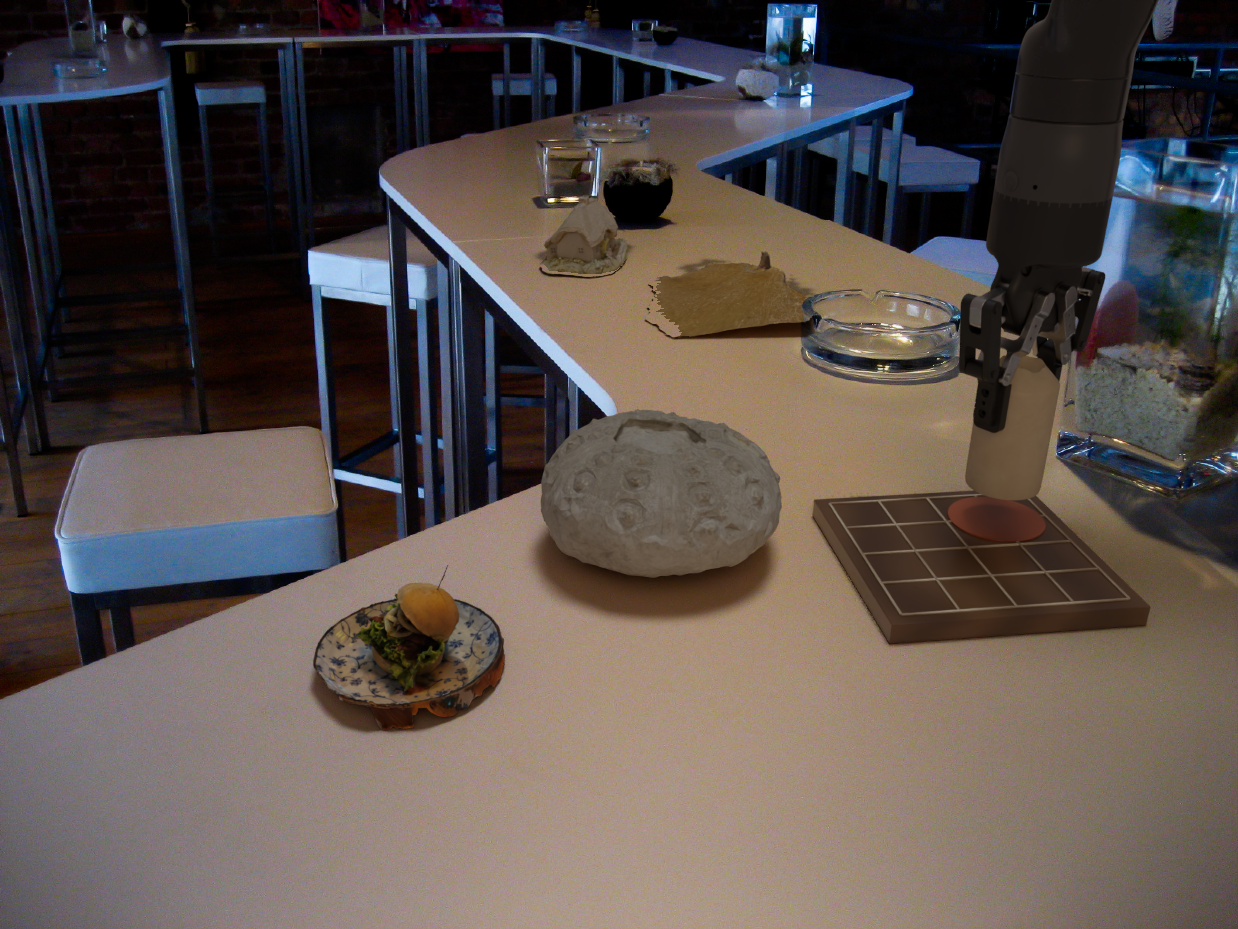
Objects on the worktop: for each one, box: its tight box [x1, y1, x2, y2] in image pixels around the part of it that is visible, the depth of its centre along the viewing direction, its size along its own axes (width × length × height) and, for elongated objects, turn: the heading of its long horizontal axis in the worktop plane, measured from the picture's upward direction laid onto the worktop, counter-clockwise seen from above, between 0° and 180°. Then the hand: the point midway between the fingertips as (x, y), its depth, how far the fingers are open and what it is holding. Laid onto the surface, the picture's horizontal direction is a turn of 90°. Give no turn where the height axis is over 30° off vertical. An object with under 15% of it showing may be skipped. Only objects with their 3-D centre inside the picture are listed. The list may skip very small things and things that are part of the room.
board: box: [812, 489, 1151, 645], centre depth 80 cm, size 18×18×2 cm
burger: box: [312, 564, 506, 731], centre depth 67 cm, size 12×12×8 cm
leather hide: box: [655, 251, 808, 337], centre depth 138 cm, size 29×26×5 cm
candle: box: [964, 355, 1061, 500], centre depth 80 cm, size 6×6×10 cm
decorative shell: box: [540, 408, 783, 579], centre depth 80 cm, size 18×18×10 cm
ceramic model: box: [540, 194, 629, 274], centre depth 154 cm, size 14×11×10 cm
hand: (1013, 418), depth 80 cm, fingers closed on candle, 5 cm apart
